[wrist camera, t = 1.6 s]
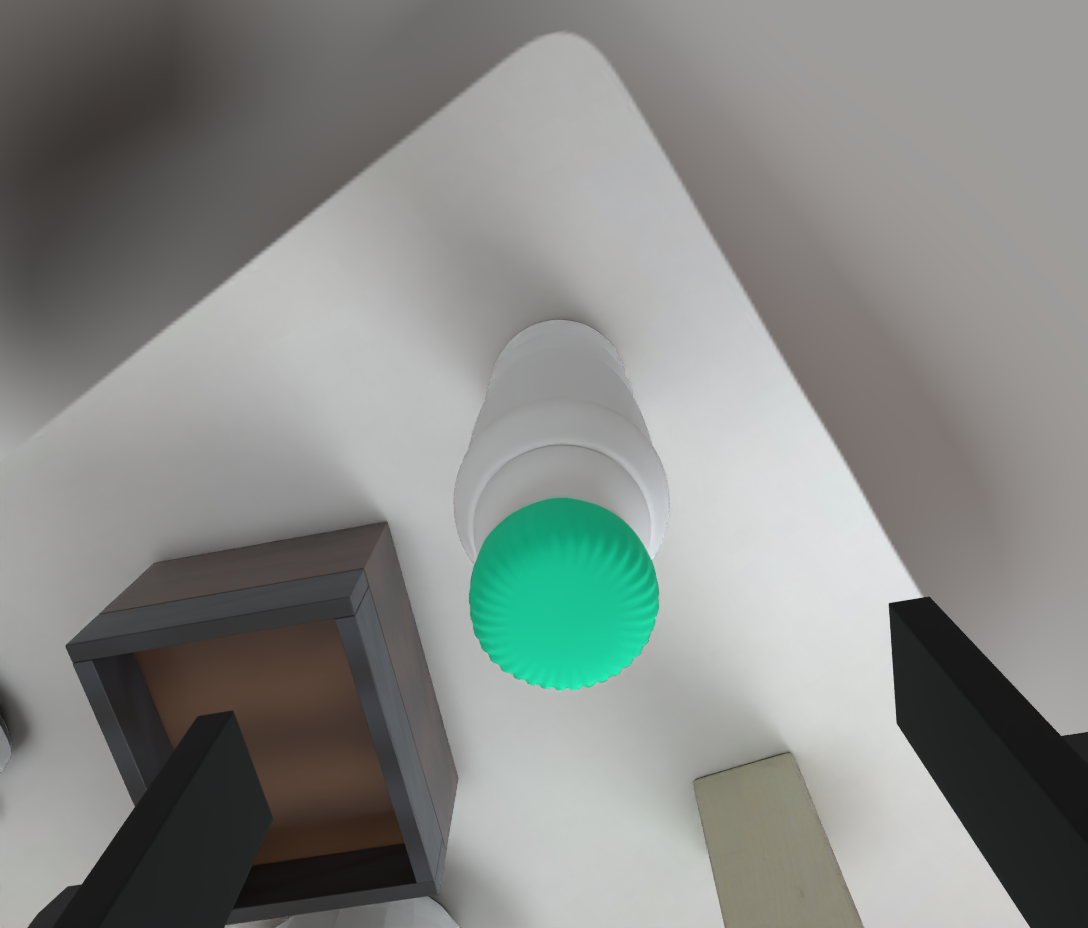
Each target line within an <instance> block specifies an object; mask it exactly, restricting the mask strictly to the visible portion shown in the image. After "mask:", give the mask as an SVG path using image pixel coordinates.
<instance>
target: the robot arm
mask: <svg viewBox="0 0 1088 928" xmlns="http://www.w3.org/2000/svg"><path fill="white" fill-rule="evenodd" d="M889 615H890V630H891V645H892V660H893V675H894V690H895V705H896V720H897V725H898V726H899V728H900V729H901V731H902V732H903V734H904V735H905V737H906V738H907V740H908V741H909V743H910V744H911V746H912V748H913V749H914V751H915V752H916V754H917V755H918V757H919V758H920V760H921V761H922V763H923V764H924V766H925V767H926V769H927V770H928V772H929V774H930V775H931V777H932V778H933V780H934V781H935V783H936V784H937V786H938V787H939V789H940V790H941V792H942V793H943V795H944V796H945V798H946V800H947V801H948V803H949V804H950V806H951V807H952V809H953V810H954V812H955V813H956V815H957V816H958V818H959V819H960V821H961V822H962V824H963V825H964V827H965V829H966V830H967V832H968V833H969V835H970V836H971V838H972V839H973V841H974V842H975V844H976V845H977V847H978V848H979V850H980V851H981V853H982V855H983V856H984V858H985V859H986V861H987V862H988V864H989V865H990V867H991V868H992V870H993V871H994V873H995V874H996V876H997V877H998V879H999V881H1000V882H1001V884H1002V885H1003V887H1004V888H1005V890H1006V891H1007V893H1008V894H1009V896H1010V897H1011V899H1012V900H1013V902H1014V903H1015V905H1016V907H1017V908H1018V910H1019V911H1020V913H1021V914H1022V916H1023V917H1024V919H1025V920H1026V922H1027V923H1028V925H1029V926H1030V928H1088V732H1085V733H1078V734H1072V735H1065V736H1061V735H1060V734H1059V733H1058V732H1057V731H1056V730H1055V729H1054V728H1053V727H1052V726H1051V725H1050V724H1049V723H1048V722H1047V721H1046V720H1045V719H1044V717H1043V716H1042V715H1041V714H1040V713H1039V712H1038V711H1037V710H1036V709H1035V708H1034V707H1033V706H1032V705H1031V704H1030V703H1029V702H1028V700H1026V698H1025V697H1024V696H1023V695H1022V694H1021V693H1020V692H1019V691H1018V690H1017V689H1016V688H1015V687H1014V686H1013V685H1012V684H1011V683H1010V681H1009V680H1008V679H1007V678H1006V677H1005V676H1004V675H1003V674H1002V673H1001V672H1000V671H999V670H998V669H997V668H996V667H995V666H994V664H992V662H991V661H990V660H989V659H988V658H987V657H986V656H985V655H984V654H983V653H982V652H981V651H980V650H979V649H978V648H977V646H975V644H974V643H973V642H972V641H971V640H970V639H969V638H968V637H967V636H966V635H965V634H964V633H963V632H962V631H961V630H960V629H959V627H958V626H957V625H956V624H955V623H954V622H953V621H952V620H951V619H950V618H949V617H948V616H947V615H946V614H945V613H944V612H943V611H942V610H941V609H940V607H939V606H938V605H937V604H936V603H935V602H934V601H933V600H932V599H931V598H930V597H924V598H918V599H912V600H906V601H900V602H893V603H889ZM272 821H273V816H272V813H271V811H270V808H269V805H268V803H267V800H266V797H265V794H264V792H263V789H262V786H261V784H260V781H259V778H258V775H257V773H256V770H255V767H254V765H253V762H252V759H251V756H250V754H249V751H248V748H247V746H246V743H245V740H244V737H243V735H242V732H241V729H240V727H239V724H238V721H237V718H236V716H235V713H234V710H231V711H225V712H219V713H213V714H207V715H201V716H197V718H196V719H195V720H194V722H193V723H192V725H191V726H190V728H189V729H188V731H187V732H186V734H185V735H184V736H183V738H182V739H181V741H180V742H179V744H178V745H177V747H176V748H175V750H174V751H173V752H172V754H171V755H170V757H169V758H168V760H167V761H166V763H165V764H164V766H163V767H162V768H161V770H160V771H159V773H158V774H157V776H156V777H155V779H154V780H153V782H152V783H151V785H150V786H149V787H148V789H147V790H146V792H145V793H144V795H143V796H142V798H141V799H140V801H139V802H138V803H137V805H136V806H135V808H134V809H133V811H132V812H131V814H130V815H129V817H128V818H127V819H126V821H125V822H124V824H123V825H122V827H121V828H120V830H119V831H118V833H117V834H116V835H115V837H114V838H113V840H112V841H111V843H110V844H109V846H108V847H107V849H106V850H105V851H104V853H103V854H102V856H101V857H100V859H99V860H98V862H97V863H96V865H95V866H94V868H93V869H92V870H91V872H90V873H89V875H88V876H87V878H86V879H85V881H84V882H83V884H82V885H75V886H69V887H67V888H66V889H64V890H63V891H62V892H61V893H60V894H59V895H58V896H57V897H56V898H55V899H54V900H52V901H51V902H50V903H49V904H48V905H47V906H46V907H45V908H44V909H43V910H42V911H40V912H39V913H38V914H37V915H36V917H35V918H34V920H33V921H32V922H31V924H30V925H29V927H28V928H224V927H225V925H226V923H227V920H228V918H229V916H230V914H231V912H232V909H233V907H234V905H235V903H236V901H237V898H238V896H239V894H240V892H241V889H242V887H243V885H244V883H245V881H246V878H247V876H248V874H249V872H250V869H251V867H252V865H253V863H254V861H255V858H256V856H257V854H258V852H259V849H260V847H261V845H262V843H263V841H264V838H265V836H266V834H267V832H268V830H269V827H270V825H271V823H272Z"/></svg>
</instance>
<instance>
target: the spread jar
mask: <svg viewBox="0 0 1088 928" xmlns="http://www.w3.org/2000/svg"><path fill="white" fill-rule="evenodd" d="M11 752H12V744H11V739H10V735H9V731H8V728H7V726H6V724H5V722H4V720H3V718H2V716H1V714H0V772H1V771H2V770H3V769H4V767H5V766H6V764H7V762H8V761H9V759H10V757H11Z"/></svg>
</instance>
